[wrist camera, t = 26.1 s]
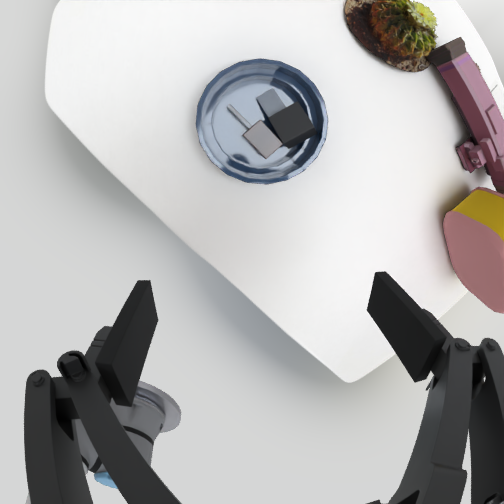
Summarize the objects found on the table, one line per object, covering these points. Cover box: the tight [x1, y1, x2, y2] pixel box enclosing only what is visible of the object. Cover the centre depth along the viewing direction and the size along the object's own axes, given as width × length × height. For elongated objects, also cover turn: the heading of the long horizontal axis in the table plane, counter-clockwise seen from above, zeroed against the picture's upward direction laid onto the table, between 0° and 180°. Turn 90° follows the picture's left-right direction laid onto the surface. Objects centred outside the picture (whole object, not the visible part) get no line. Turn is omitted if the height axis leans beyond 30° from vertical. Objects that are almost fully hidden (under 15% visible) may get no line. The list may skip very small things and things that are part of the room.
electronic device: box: [425, 37, 504, 194], centre depth 30 cm, size 11×27×10 cm, turn 38°
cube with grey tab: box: [256, 88, 317, 149], centre depth 31 cm, size 8×3×4 cm
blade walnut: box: [227, 104, 283, 159], centre depth 32 cm, size 8×3×4 cm, turn 43°
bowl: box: [196, 59, 328, 184], centre depth 32 cm, size 15×15×6 cm
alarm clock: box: [443, 187, 504, 313], centre depth 34 cm, size 18×11×19 cm, turn 35°
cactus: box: [345, 0, 438, 72], centre depth 24 cm, size 17×16×10 cm
